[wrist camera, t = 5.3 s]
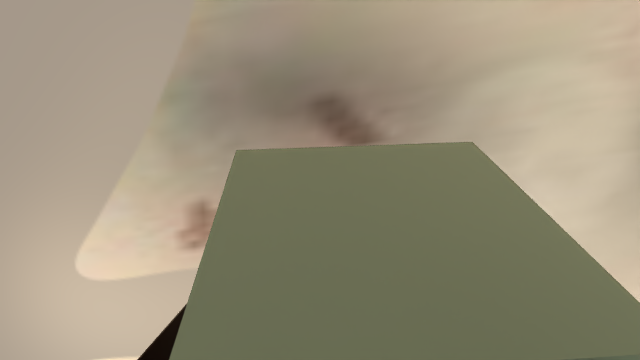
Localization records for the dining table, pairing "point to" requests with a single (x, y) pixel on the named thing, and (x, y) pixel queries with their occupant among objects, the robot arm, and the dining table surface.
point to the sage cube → (395, 264)
